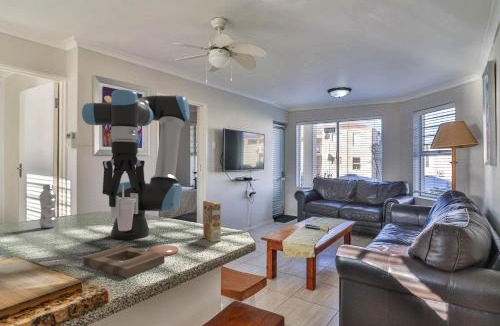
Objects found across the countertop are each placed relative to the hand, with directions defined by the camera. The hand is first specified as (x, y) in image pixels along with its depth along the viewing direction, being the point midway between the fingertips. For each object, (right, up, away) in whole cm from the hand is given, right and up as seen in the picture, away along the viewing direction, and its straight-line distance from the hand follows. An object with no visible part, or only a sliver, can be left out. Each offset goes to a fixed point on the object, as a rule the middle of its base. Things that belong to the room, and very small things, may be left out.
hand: (124, 215), depth 94 cm
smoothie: (0, -5, 0) cm, 5 cm away
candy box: (+23, -15, +29) cm, 40 cm away
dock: (0, -15, 0) cm, 15 cm away
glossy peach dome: (+8, -15, +13) cm, 21 cm away
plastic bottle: (-55, -14, +46) cm, 73 cm away
